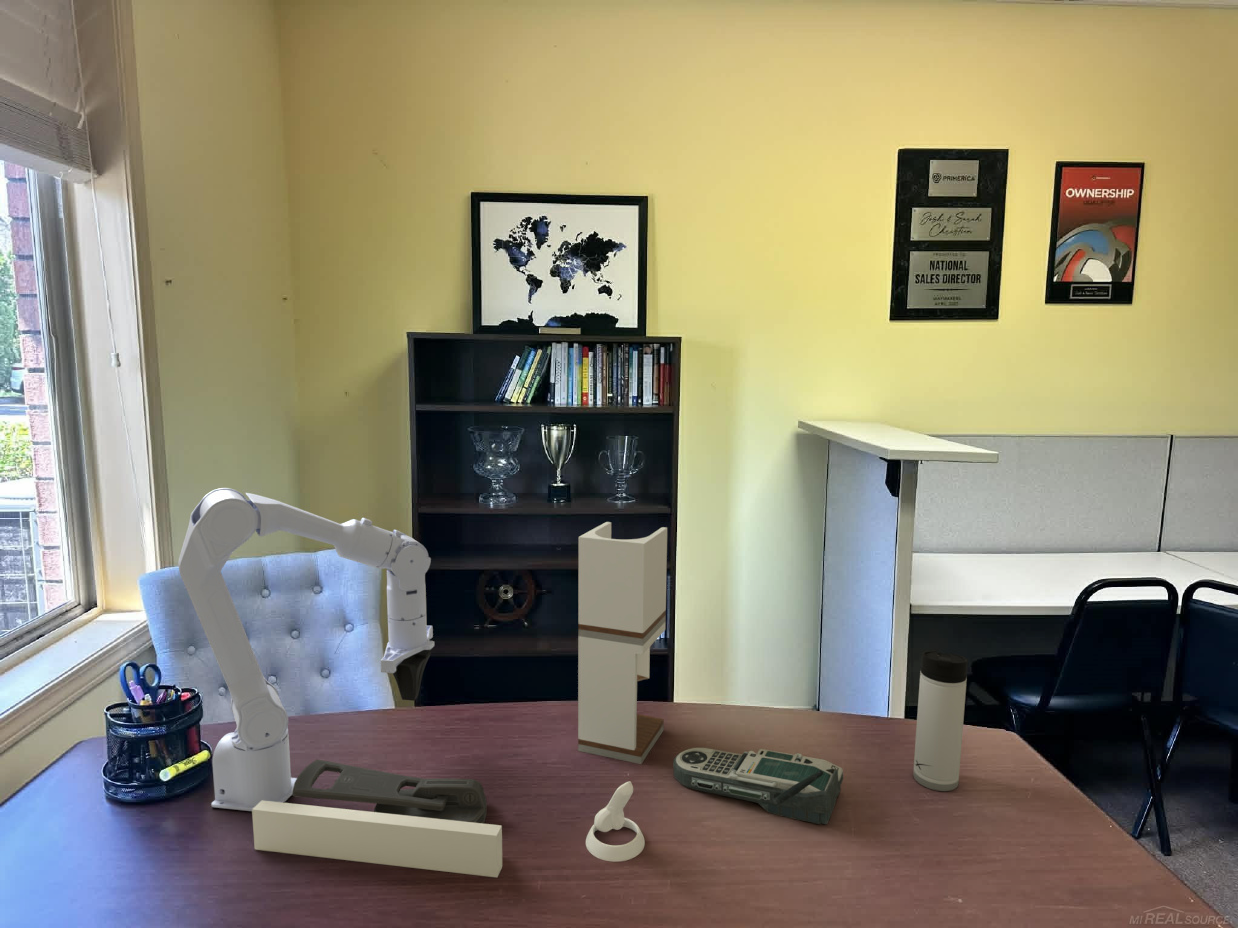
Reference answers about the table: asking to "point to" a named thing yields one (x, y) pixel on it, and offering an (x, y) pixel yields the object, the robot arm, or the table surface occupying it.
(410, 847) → the cream rectangular bar
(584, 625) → the white square tower
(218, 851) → the table surface
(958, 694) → the travel mug
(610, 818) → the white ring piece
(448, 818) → the zipper pull
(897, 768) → the table surface
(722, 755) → the communication device
